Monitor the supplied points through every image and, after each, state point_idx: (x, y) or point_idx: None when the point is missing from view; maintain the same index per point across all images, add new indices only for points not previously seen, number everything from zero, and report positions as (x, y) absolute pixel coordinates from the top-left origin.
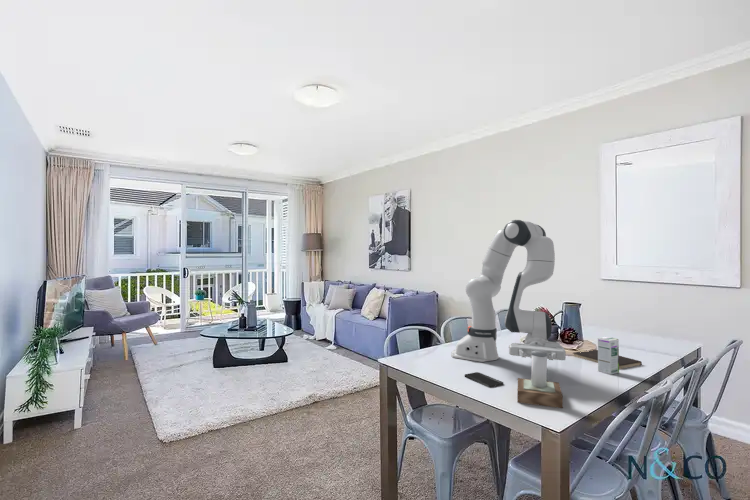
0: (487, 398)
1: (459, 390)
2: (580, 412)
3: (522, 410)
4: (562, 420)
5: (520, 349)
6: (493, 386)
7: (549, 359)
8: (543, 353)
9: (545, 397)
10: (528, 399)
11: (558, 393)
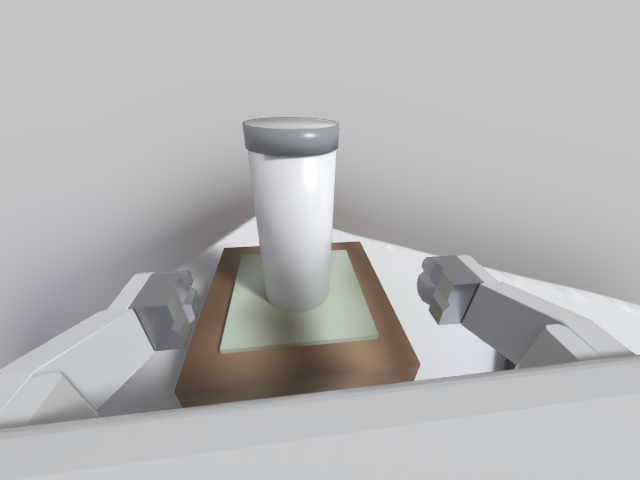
0: None
1: (544, 285)
2: None
3: (332, 242)
4: (249, 232)
5: (606, 354)
6: (506, 365)
7: (192, 303)
8: (269, 118)
9: None
10: None
11: (231, 260)
